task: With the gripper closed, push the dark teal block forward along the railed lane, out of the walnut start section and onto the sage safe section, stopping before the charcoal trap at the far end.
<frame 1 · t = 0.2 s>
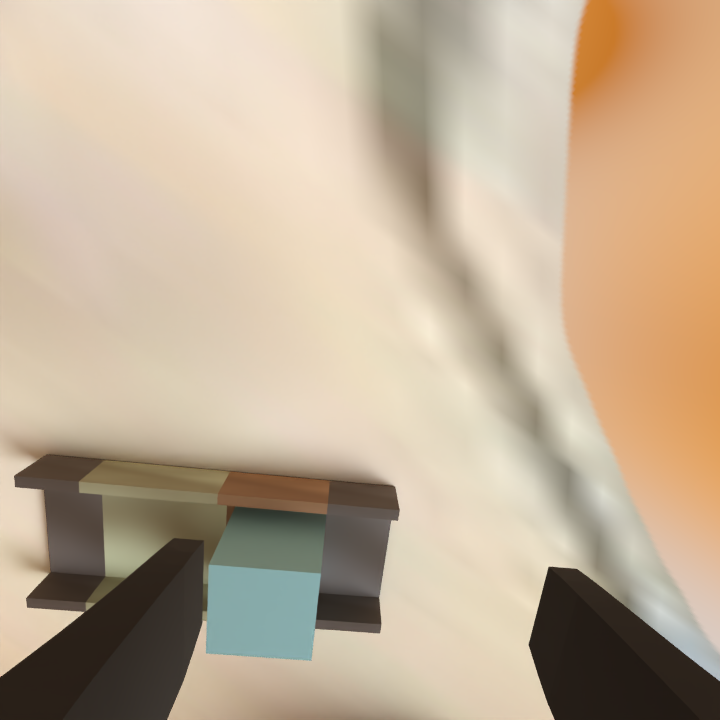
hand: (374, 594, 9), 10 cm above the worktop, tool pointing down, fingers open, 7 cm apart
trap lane: (222, 532, 19), on the worktop
teal block: (279, 541, 19), resting on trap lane
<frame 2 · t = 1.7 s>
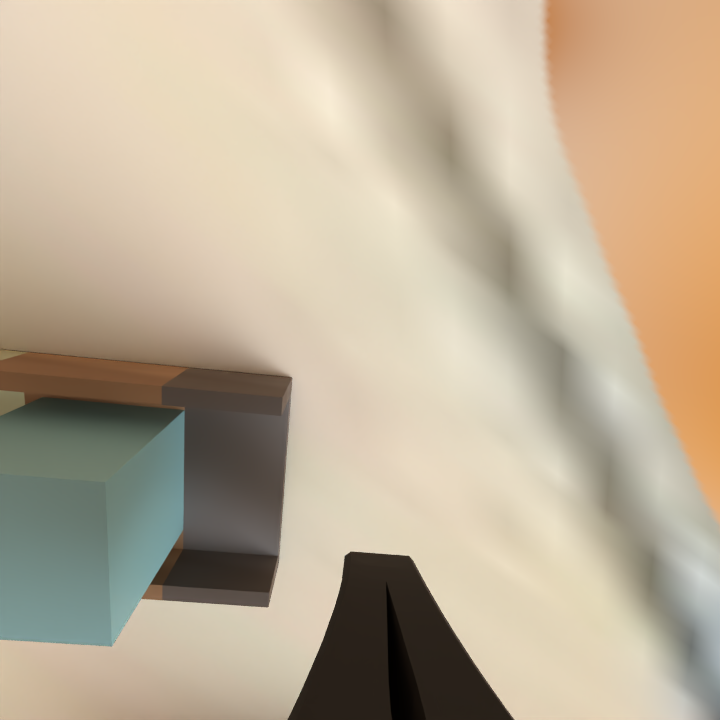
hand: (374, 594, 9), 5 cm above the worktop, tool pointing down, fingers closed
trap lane: (28, 453, 12), on the worktop
teal block: (116, 466, 12), resting on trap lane
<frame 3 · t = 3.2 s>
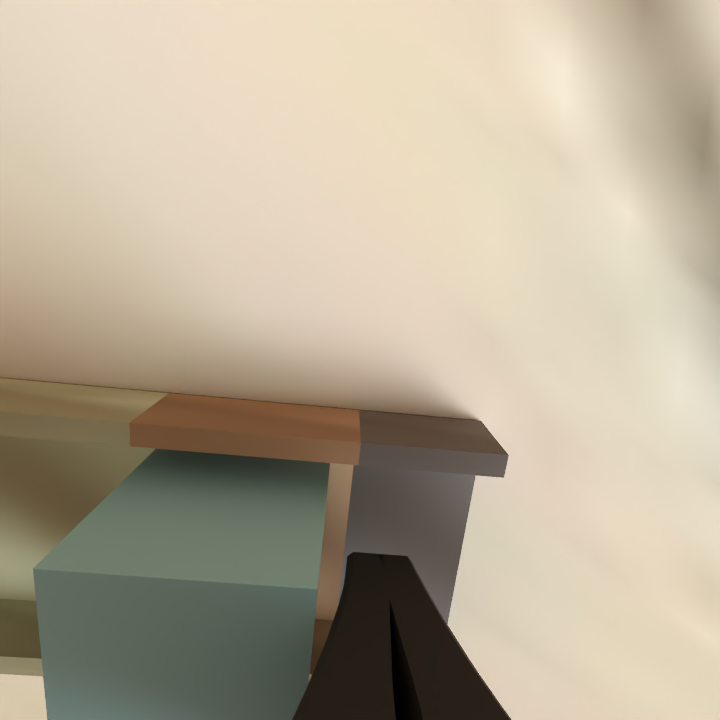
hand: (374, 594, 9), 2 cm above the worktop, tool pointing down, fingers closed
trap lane: (159, 511, 10), on the worktop
teal block: (243, 524, 10), resting on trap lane, touching gripper
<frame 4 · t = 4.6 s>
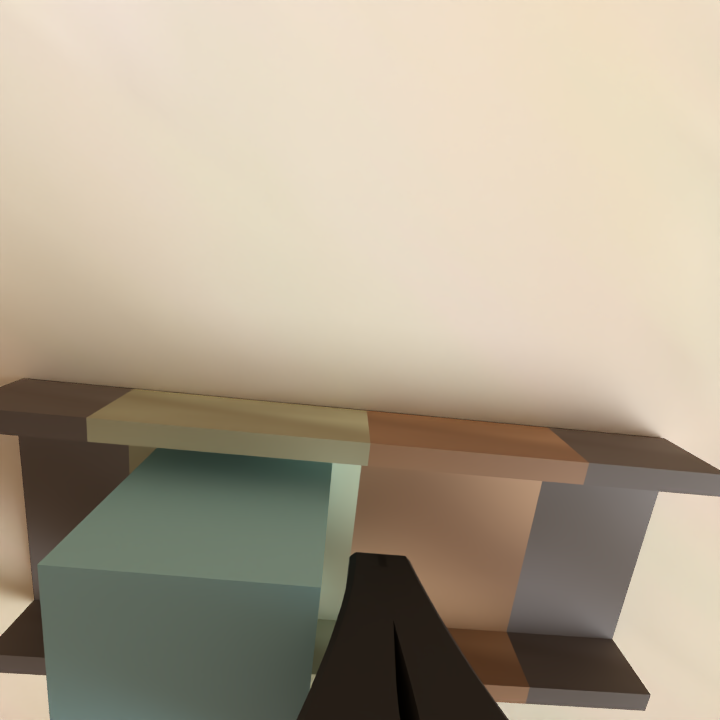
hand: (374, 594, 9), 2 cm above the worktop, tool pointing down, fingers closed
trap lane: (343, 525, 11), on the worktop
teal block: (244, 523, 10), resting on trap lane, touching gripper
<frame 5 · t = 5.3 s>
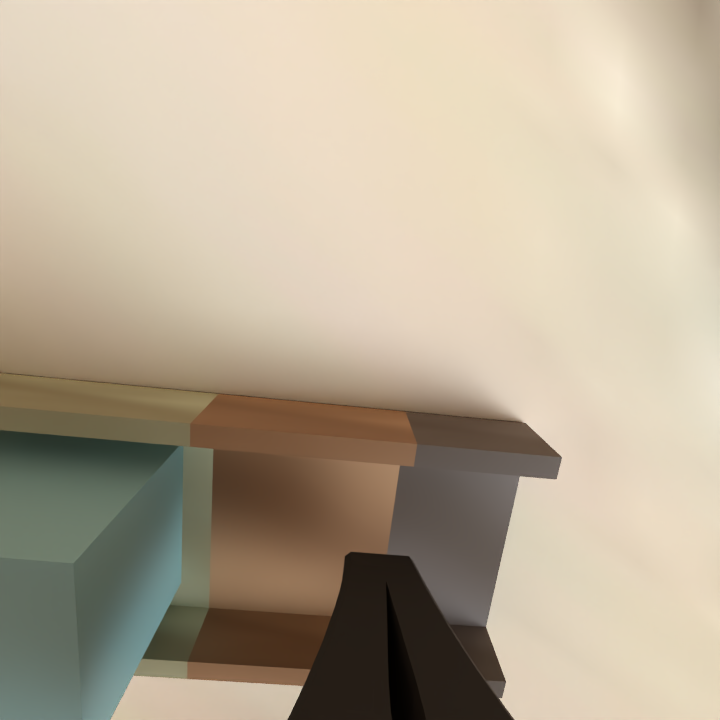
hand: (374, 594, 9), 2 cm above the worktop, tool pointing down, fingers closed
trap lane: (205, 510, 11), on the worktop
teal block: (99, 508, 10), resting on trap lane
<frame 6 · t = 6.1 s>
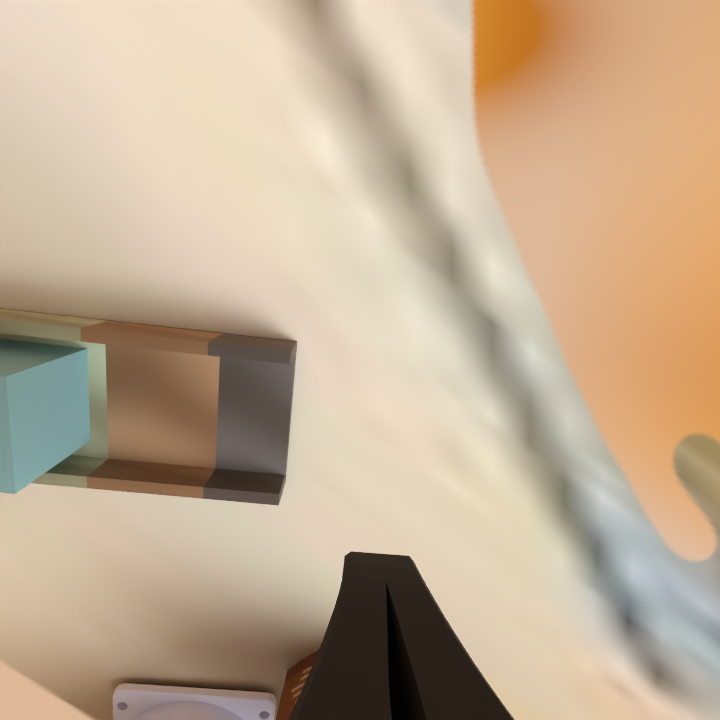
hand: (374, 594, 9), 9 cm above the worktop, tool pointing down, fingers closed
food container: (395, 676, 21), on the worktop
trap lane: (104, 395, 17), on the worktop
teal block: (38, 390, 17), resting on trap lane
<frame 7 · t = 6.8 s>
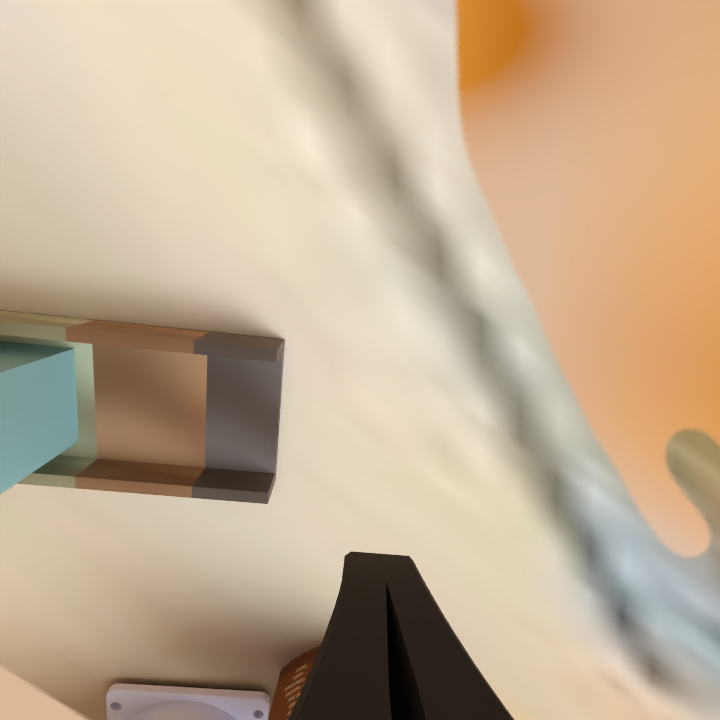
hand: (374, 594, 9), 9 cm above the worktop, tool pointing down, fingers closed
food container: (389, 674, 21), on the worktop
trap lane: (92, 395, 17), on the worktop
teal block: (26, 390, 17), resting on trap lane
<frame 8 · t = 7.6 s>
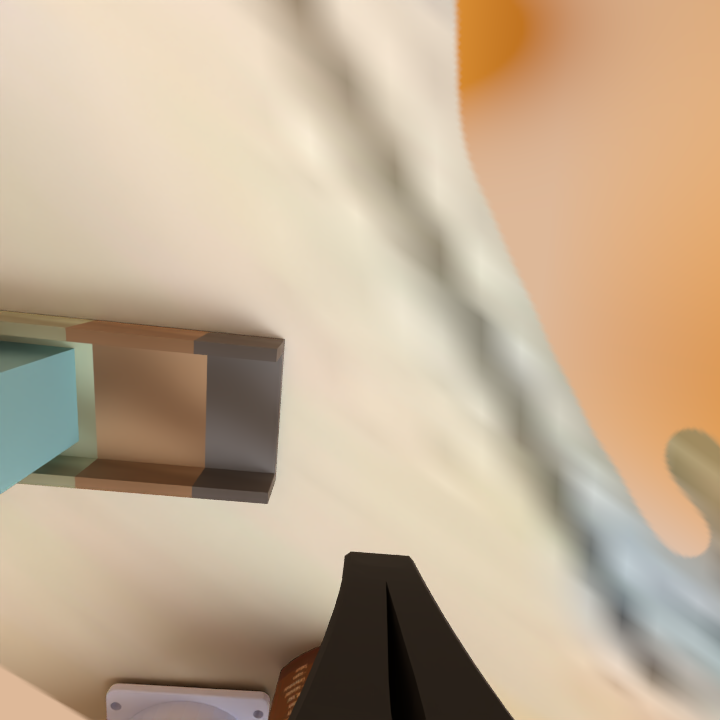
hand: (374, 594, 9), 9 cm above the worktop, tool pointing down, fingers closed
food container: (389, 674, 21), on the worktop
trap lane: (92, 395, 17), on the worktop
teal block: (26, 390, 17), resting on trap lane
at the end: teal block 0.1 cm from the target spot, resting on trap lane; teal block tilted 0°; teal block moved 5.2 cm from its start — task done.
